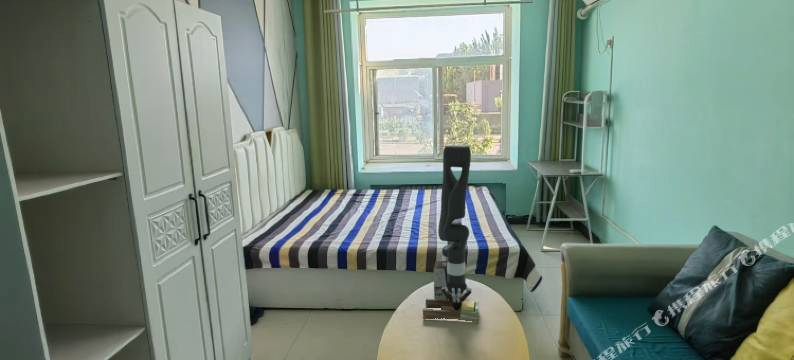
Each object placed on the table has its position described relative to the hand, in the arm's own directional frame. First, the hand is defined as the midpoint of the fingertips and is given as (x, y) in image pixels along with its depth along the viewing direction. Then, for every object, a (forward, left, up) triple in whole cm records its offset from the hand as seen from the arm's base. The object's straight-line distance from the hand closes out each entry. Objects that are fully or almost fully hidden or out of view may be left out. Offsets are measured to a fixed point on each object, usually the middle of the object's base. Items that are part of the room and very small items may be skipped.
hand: (456, 309), depth 192 cm
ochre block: (0, +5, -1) cm, 5 cm away
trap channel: (0, -2, -3) cm, 4 cm away
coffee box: (-16, -8, -3) cm, 18 cm away
